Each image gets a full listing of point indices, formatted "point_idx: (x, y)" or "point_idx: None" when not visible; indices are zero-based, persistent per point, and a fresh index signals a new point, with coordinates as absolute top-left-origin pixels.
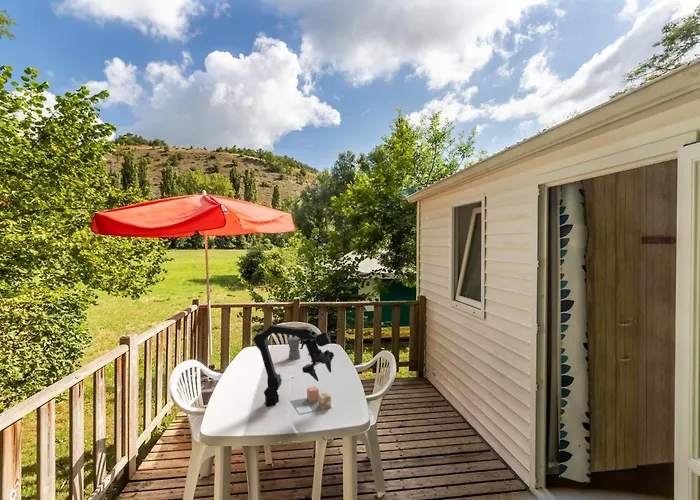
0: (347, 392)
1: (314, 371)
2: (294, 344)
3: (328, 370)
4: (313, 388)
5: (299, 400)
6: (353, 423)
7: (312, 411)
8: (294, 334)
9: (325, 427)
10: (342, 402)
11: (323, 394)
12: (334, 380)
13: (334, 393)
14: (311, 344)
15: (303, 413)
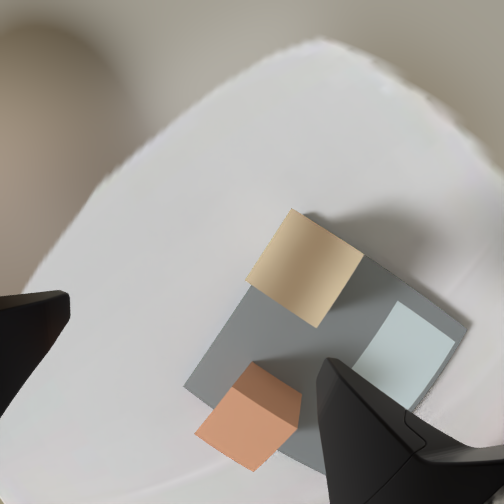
0: (84, 278)
1: (486, 454)
2: None
3: (53, 339)
4: (237, 430)
5: (313, 453)
6: (349, 61)
7: (403, 294)
8: None
9: (458, 140)
10: (184, 227)
11: (298, 286)
12: (42, 394)
13: (118, 335)
14: None
15: (445, 322)
